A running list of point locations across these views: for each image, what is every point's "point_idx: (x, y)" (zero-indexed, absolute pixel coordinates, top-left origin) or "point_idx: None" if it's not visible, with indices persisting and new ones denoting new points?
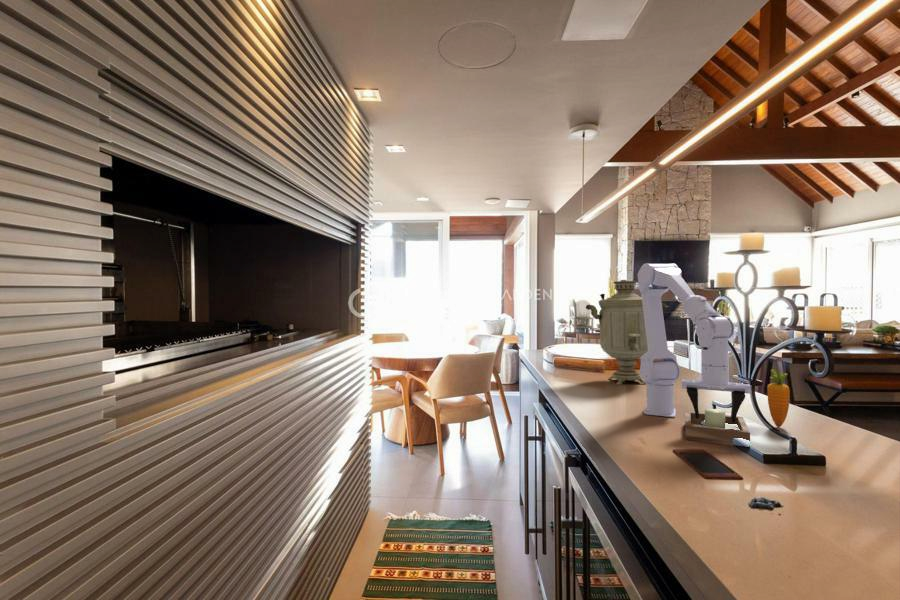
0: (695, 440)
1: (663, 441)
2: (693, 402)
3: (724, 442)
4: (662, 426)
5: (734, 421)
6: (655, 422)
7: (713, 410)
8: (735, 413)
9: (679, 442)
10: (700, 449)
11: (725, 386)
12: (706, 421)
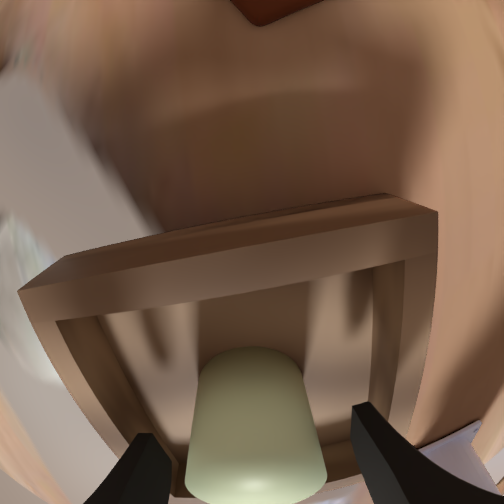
0: (335, 201)
1: (461, 105)
2: (437, 477)
3: (170, 234)
4: (462, 347)
5: (137, 436)
6: (472, 375)
7: (268, 493)
8: (114, 474)
9: (404, 123)
10: (277, 5)
11: None
12: (302, 403)
